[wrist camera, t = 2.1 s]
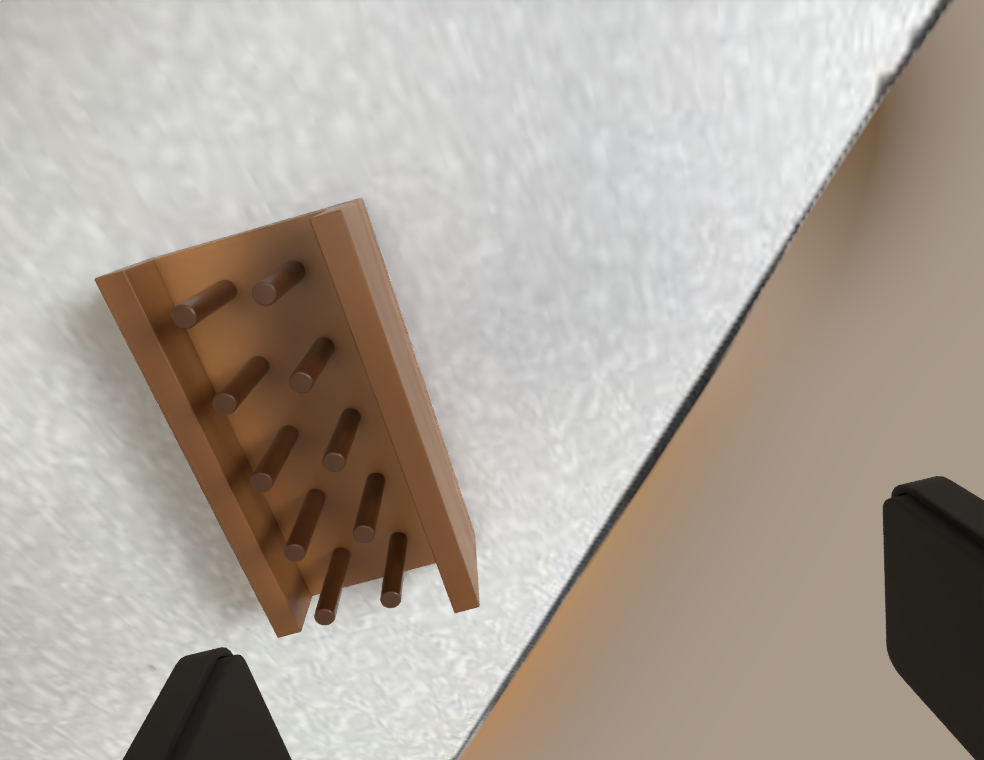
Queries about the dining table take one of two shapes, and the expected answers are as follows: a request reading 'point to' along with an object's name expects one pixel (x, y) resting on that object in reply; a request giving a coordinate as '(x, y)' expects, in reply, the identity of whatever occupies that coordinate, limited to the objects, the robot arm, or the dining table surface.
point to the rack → (301, 410)
